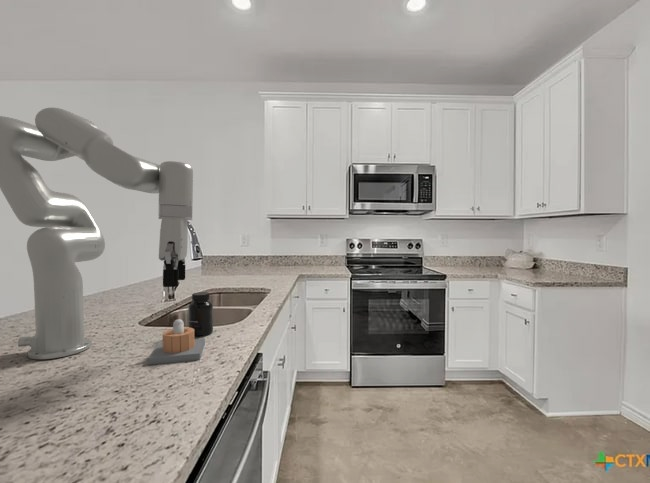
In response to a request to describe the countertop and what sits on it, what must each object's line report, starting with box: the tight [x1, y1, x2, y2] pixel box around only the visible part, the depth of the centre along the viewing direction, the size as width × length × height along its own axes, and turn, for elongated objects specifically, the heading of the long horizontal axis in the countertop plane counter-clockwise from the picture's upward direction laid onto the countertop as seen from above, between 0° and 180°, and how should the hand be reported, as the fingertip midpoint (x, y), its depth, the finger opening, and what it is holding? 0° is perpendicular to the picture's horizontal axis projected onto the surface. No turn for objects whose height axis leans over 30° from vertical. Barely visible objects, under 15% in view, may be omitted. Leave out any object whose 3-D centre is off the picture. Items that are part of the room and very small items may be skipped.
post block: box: [147, 318, 206, 366], centre depth 80 cm, size 11×11×8 cm
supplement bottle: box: [187, 291, 214, 338], centre depth 95 cm, size 7×7×12 cm
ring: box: [162, 326, 195, 353], centre depth 80 cm, size 7×7×4 cm
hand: (174, 283), depth 80 cm, fingers open, 9 cm apart
